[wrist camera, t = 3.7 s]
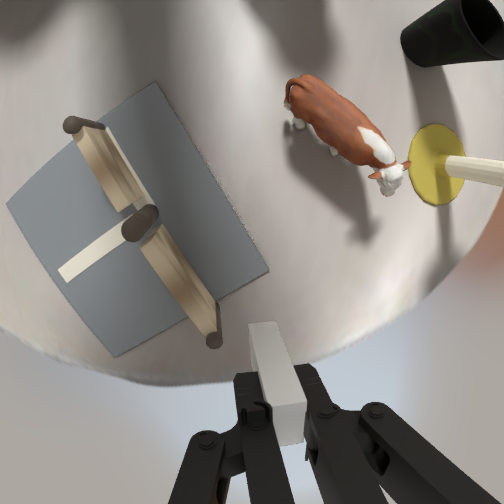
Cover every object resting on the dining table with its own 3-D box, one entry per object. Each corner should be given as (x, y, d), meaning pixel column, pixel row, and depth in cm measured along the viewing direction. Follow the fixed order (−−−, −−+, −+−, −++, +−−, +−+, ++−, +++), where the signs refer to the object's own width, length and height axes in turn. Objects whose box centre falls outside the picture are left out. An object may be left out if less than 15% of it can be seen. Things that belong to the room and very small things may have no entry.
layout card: (7, 203, 27) (5, 203, 26) (156, 82, 26) (155, 81, 25) (115, 355, 34) (114, 358, 33) (268, 268, 33) (269, 270, 32)
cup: (450, 69, 28) (519, 56, 17) (411, 81, 28) (484, 65, 17) (424, 16, 26) (486, -12, 14) (382, 23, 26) (445, -13, 15)
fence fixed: (88, 130, 26) (56, 124, 19) (103, 119, 26) (73, 110, 19) (147, 225, 29) (129, 246, 22) (162, 215, 29) (148, 234, 22)
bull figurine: (357, 195, 32) (398, 209, 24) (264, 103, 28) (284, 85, 20) (382, 166, 31) (427, 173, 23) (294, 74, 27) (321, 50, 19)
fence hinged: (151, 230, 29) (136, 251, 23) (163, 223, 29) (151, 241, 23) (210, 315, 33) (212, 351, 26) (222, 309, 32) (225, 344, 26)
